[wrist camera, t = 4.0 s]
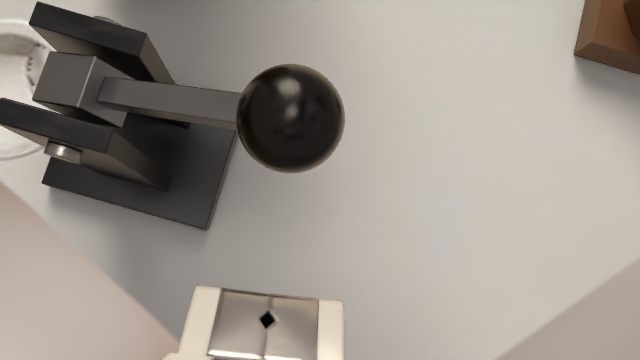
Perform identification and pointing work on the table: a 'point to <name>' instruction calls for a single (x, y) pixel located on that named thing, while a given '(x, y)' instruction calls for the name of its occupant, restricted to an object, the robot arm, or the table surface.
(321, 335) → the robot arm
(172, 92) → the lever
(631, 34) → the button block
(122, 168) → the bracket
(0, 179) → the table surface
